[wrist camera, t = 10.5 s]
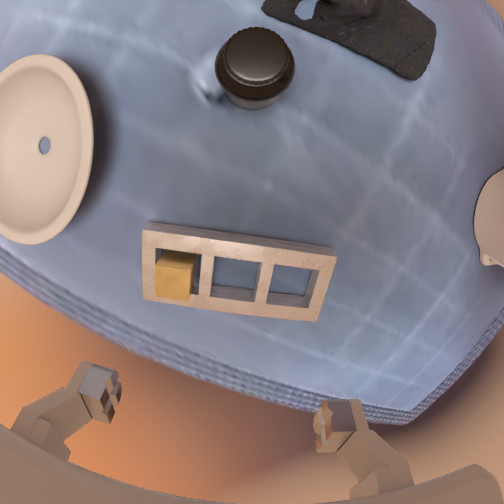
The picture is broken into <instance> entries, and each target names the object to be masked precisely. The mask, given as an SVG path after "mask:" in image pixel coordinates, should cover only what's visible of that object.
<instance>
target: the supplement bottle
mask: <svg viewBox="0 0 504 504" xmlns="http://www.w3.org/2000/svg"><path fill="white" fill-rule="evenodd" d="M215 72H216V77H217V79H218V81H219V83H220V85H221V87H222V89H223V91H224V93H225V95H226V96H227V97H228V99H229V100H230V101H231V102H233V103H234V104H235V105H237V106H239V107H242V108H245V109H252V110H255V109H262V108H265V107H267V106H269V105H271V104H273V103H274V102H275V101H276V100H277V99H278V98H279V97H280V96H281V95H282V94H283V92H284V91H285V90H286V89H287V88H288V86H289V85H290V83H291V81H292V79H293V77H294V73H295V61H294V57H293V55H292V52H291V51H290V49H289V48H288V46H287V44H286V43H285V42H284V39H282V38H281V37H280V35H278V34H276V33H275V32H274V31H271V30H270V29H265V28H263V27H261V28H259V27H254V28H253V27H250V28H248V29H243V30H242V31H238V32H237V33H236V34H233V36H232V37H231V38H230V39H229V40H228V41H227V42H225V43H224V45H223V46H222V47H221V48H220V50H219V52H218V54H217V56H216V60H215Z"/></svg>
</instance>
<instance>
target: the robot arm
mask: <svg viewBox="0 0 504 504" xmlns="http://www.w3.org/2000/svg"><path fill="white" fill-rule="evenodd" d="M474 232H475V237H476V241H477V243H478V245H479V248H480V262H481V263H482V264H483V265H495V264H499V265H501V266H502V267H504V168H503V169H502V170H501V171H499V172H497V173H496V174H494V175H493V176H492V177H491V178H490V179H489V180H488V181H487V182H486V184H485V185H484V187H483V189H482V191H481V193H480V196H479V199H478V202H477V206H476V210H475V217H474ZM118 377H119V376H118V372H117V371H115V370H112V369H108V368H105V367H102V366H99V365H96V364H93V363H90V362H87V361H83V362H81V363H80V365H79V367H78V368H77V370H76V372H75V373H74V375H73V377H72V378H71V380H70V382H69V384H68V385H67V387H66V388H64V387H62V388H60V389H58V390H57V391H55V392H53V393H51V394H49V395H47V396H45V397H43V398H41V399H39V400H37V401H35V402H33V403H31V404H29V405H27V406H25V407H23V409H22V410H21V412H20V413H19V415H18V417H17V419H16V420H15V422H14V424H13V426H12V428H11V429H8V428H6V427H5V426H3V425H2V424H0V504H234V503H223V502H214V501H205V500H199V499H193V498H187V497H181V496H176V495H171V494H166V493H162V492H158V491H153V490H149V489H145V488H142V487H138V486H135V485H131V484H128V483H125V482H121V481H118V480H115V479H112V478H109V477H106V476H104V475H101V474H98V473H96V472H93V471H90V470H88V469H85V468H83V467H80V466H78V465H76V464H73V463H71V462H69V461H68V458H69V456H70V453H71V452H70V450H69V448H68V447H67V446H66V444H65V443H64V442H63V441H64V440H65V439H67V438H68V437H70V436H71V435H72V434H73V433H75V432H76V431H78V430H79V429H80V428H82V427H83V426H84V425H86V424H87V423H88V422H90V421H91V420H92V419H95V420H98V421H101V422H105V423H108V424H111V421H112V419H113V416H114V414H115V410H114V408H113V407H114V406H116V405H117V404H119V401H120V398H121V393H122V387H121V383H120V382H119V381H118V380H117V379H118ZM313 426H314V431H315V432H316V433H317V434H318V437H317V438H316V448H317V452H318V453H330V452H337V453H336V454H337V455H338V456H339V457H340V459H341V460H342V461H343V462H344V463H345V465H346V466H347V467H348V468H349V470H350V471H351V472H352V473H353V474H354V476H355V477H356V478H357V479H358V480H359V483H358V484H356V485H355V486H354V487H352V488H351V489H350V490H349V492H350V498H351V499H350V500H343V501H336V502H327V503H317V504H504V500H503V497H502V493H501V489H500V486H499V483H498V481H497V479H496V477H495V476H494V475H493V474H491V473H490V472H489V471H487V470H486V469H484V468H483V467H481V466H480V465H477V464H472V465H469V466H467V467H464V468H462V469H459V470H457V471H454V472H452V473H449V474H446V475H444V476H441V477H438V478H435V479H433V480H430V481H427V482H423V483H420V484H417V485H414V482H413V479H412V475H411V472H410V469H409V465H408V462H407V460H405V459H404V458H403V457H402V456H401V455H400V454H399V453H397V452H396V451H395V450H394V449H393V448H392V447H391V446H389V445H388V444H387V443H386V442H385V441H384V440H383V439H382V438H380V437H379V436H378V435H377V434H376V433H375V432H374V431H373V430H369V427H368V424H367V420H366V417H365V414H364V410H363V407H362V404H361V401H360V400H359V399H328V400H323V401H322V403H321V409H319V410H317V412H316V414H315V416H314V424H313Z"/></svg>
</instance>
